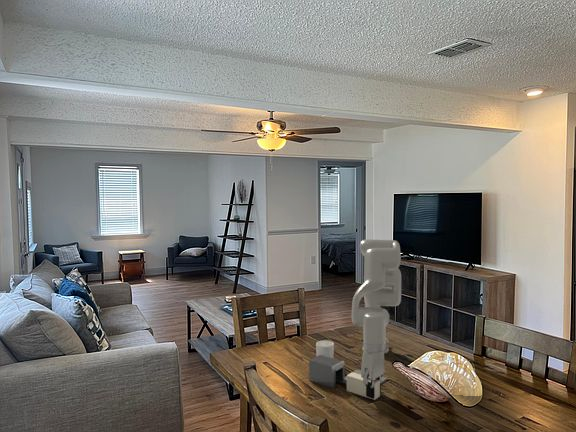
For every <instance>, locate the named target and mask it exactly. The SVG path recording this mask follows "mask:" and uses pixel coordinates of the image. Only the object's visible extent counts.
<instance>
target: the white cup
mask: <svg viewBox="0 0 576 432" xmlns="http://www.w3.org/2000/svg"><path fill="white" fill-rule="evenodd" d="M334 348H335V343H334V342H333V341H330V340H318V341H317V342H315V350H316V357H317V356H319V355H323V356H326V357H330V358H333V359H334V352H335V351H334V350H335V349H334Z"/></svg>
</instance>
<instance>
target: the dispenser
mask: <svg viewBox="0 0 576 432" xmlns="http://www.w3.org/2000/svg"><path fill="white" fill-rule="evenodd" d="M308 365H309V366H308V367H309V368H308V371H309V372H308V380H309V382H311V383H315V384H318V385H321V386H325V387H327V388H330V389H333V390H335V389H336V386H337V384H336V383H340V384H344V383H345V382H346V381H345V377H346V376H345V372H346V371H345V366H346V365H345V361H344V360H341V359H336V358H334V357H333V358H330V357H326V356H323V355H319V356H317V355H316V356H315V357H313V358H311V359H308Z"/></svg>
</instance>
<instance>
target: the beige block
mask: <svg viewBox="0 0 576 432" xmlns="http://www.w3.org/2000/svg"><path fill="white" fill-rule="evenodd" d="M346 376H347V382H346V392H348V393H349V392H350V393H352V394H355V395H359V396H361V397H365V398H367V399H370V400H374V401H375V400H377V399H378V398H380V396H381V393H380V380H378V379H374V388H375V397H374V398H370V397H367V396H366V386H365V384H364V383H363V378H362V377H361V375H360V374H357V373H354V371H352V372H350V373H348V374H347V375H346ZM369 378H370V377H369ZM369 382H370V383H371V381H370V380H369Z"/></svg>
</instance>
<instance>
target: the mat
mask: <svg viewBox="0 0 576 432" xmlns="http://www.w3.org/2000/svg"><path fill="white" fill-rule="evenodd" d="M353 372H354V373H357V374H360V375H361V369H356V370H354V371H353ZM381 379H382V382H381V385H382V384H383V383H384V382H386V381H387V380H388V377H384V376H382V378H381ZM345 382H346V383H347V375H346V376H345Z"/></svg>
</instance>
